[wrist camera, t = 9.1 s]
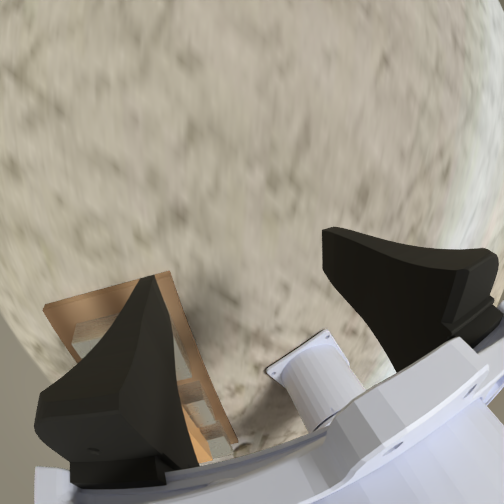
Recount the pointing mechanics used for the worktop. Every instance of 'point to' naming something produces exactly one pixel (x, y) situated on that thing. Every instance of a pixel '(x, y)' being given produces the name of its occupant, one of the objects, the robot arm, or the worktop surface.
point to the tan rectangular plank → (198, 440)
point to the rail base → (112, 302)
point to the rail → (189, 393)
